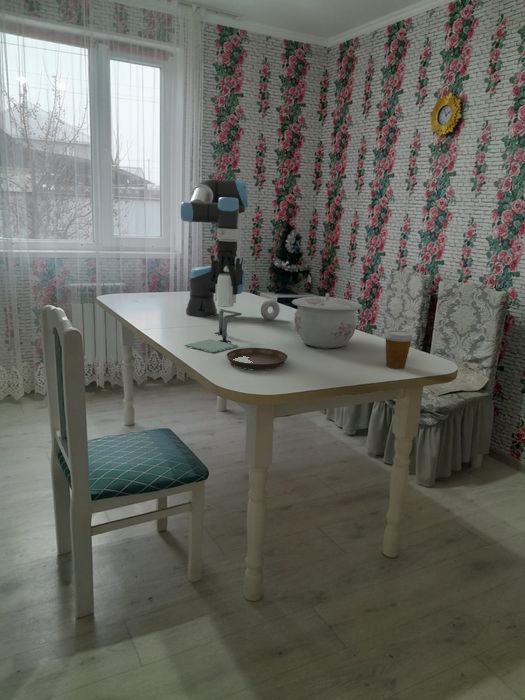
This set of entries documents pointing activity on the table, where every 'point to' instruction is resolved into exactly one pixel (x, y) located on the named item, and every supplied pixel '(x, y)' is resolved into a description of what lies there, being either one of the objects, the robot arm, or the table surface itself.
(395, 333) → the disposable coffee cup
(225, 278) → the can
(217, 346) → the mat
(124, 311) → the table surface
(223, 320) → the dark grey angled piece
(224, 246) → the robot arm
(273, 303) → the donut
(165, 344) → the table surface
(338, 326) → the chamber pot
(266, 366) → the plant saucer
